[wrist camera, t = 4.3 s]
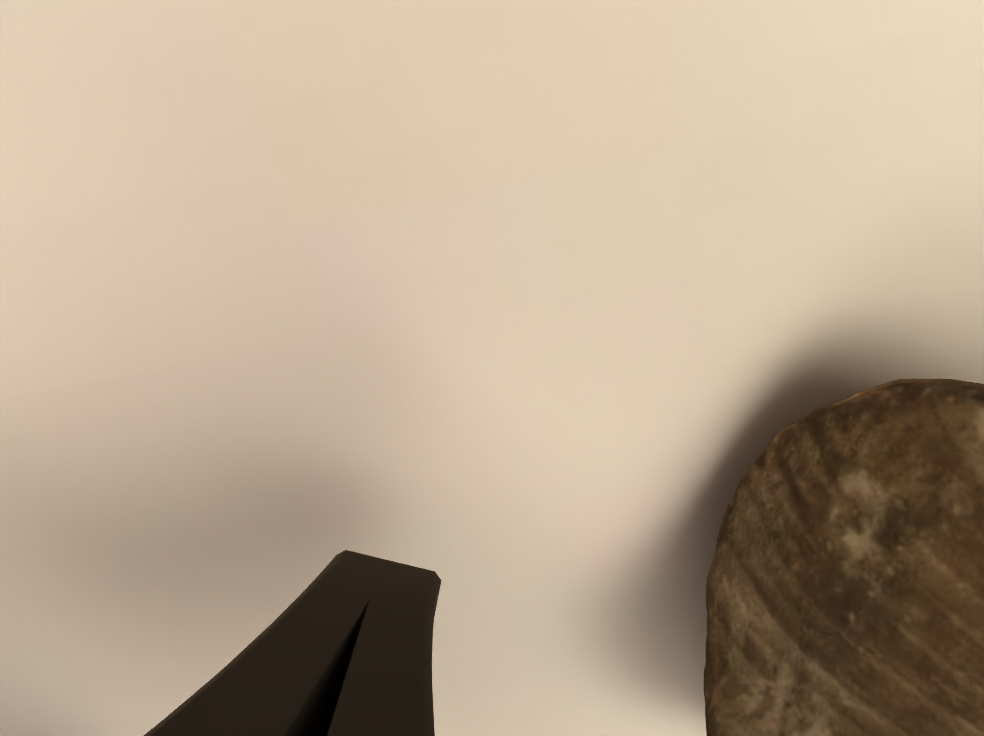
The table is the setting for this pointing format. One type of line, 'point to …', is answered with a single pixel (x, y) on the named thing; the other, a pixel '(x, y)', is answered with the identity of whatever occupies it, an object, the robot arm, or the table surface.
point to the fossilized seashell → (855, 573)
